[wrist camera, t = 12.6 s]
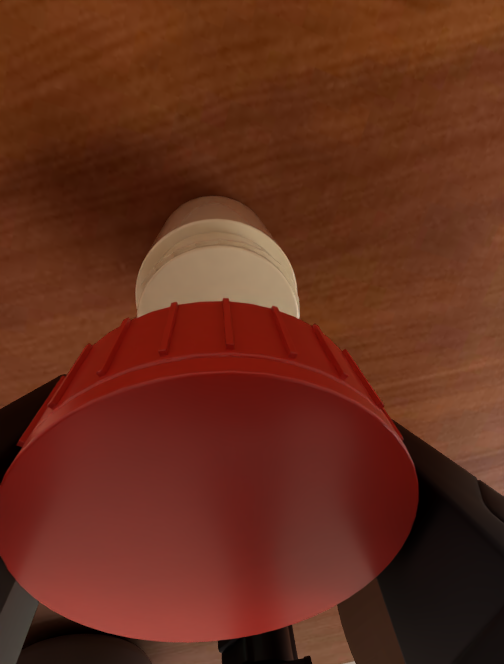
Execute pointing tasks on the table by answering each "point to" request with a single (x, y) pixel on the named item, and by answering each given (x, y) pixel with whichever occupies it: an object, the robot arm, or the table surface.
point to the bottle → (15, 623)
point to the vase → (83, 651)
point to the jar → (215, 260)
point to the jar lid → (206, 479)
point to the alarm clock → (369, 627)
